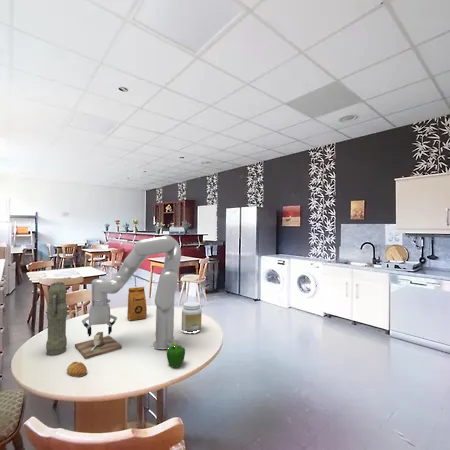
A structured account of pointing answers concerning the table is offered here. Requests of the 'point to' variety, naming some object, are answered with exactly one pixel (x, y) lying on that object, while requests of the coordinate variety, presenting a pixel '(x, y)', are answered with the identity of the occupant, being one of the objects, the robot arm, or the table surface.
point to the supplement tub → (191, 317)
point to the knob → (98, 340)
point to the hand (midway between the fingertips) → (99, 334)
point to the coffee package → (136, 304)
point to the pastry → (77, 369)
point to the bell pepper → (175, 355)
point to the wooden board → (106, 348)
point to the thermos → (56, 319)
